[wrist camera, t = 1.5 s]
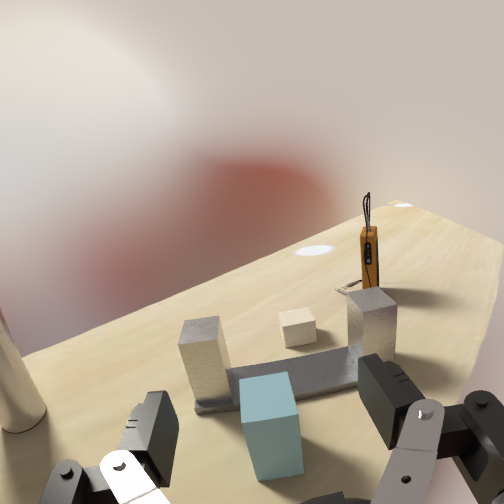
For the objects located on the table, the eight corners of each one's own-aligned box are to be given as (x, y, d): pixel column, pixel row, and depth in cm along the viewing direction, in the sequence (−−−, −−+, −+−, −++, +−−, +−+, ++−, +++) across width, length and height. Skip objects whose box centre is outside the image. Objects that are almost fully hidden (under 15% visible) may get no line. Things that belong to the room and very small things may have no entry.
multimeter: (336, 280, 71) (328, 191, 65) (380, 280, 66) (375, 188, 61) (321, 311, 58) (311, 202, 53) (375, 312, 54) (370, 198, 48)
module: (257, 481, 25) (241, 423, 23) (253, 437, 31) (239, 377, 29) (304, 473, 25) (298, 413, 23) (294, 431, 31) (286, 369, 29)
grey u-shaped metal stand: (196, 414, 36) (174, 349, 33) (201, 377, 44) (183, 317, 41) (397, 374, 36) (403, 306, 34) (375, 344, 44) (376, 283, 41)
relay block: (285, 348, 48) (282, 326, 47) (280, 333, 53) (278, 312, 52) (316, 342, 48) (315, 320, 47) (309, 327, 53) (307, 306, 52)
